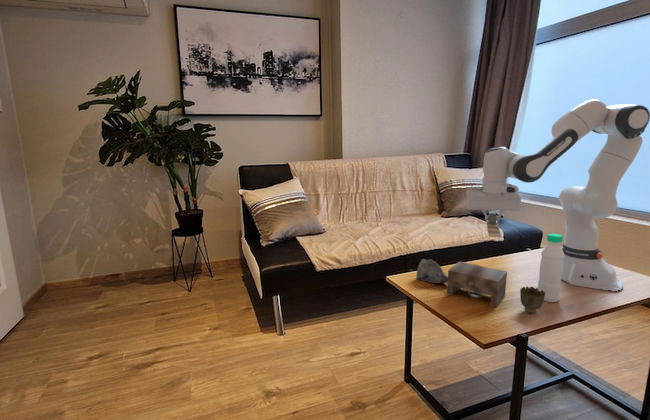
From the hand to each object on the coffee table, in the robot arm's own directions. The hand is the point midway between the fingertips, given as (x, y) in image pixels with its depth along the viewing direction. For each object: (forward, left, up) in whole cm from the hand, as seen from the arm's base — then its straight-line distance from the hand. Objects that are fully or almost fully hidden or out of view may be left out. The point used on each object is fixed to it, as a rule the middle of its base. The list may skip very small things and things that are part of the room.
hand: (492, 220), depth 144 cm
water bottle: (-23, +6, -26) cm, 35 cm away
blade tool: (-2, +7, -2) cm, 7 cm away
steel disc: (-1, +19, -26) cm, 33 cm away
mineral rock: (+17, +18, -26) cm, 36 cm away
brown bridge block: (-1, +19, -26) cm, 32 cm away
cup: (-20, +21, -26) cm, 39 cm away
